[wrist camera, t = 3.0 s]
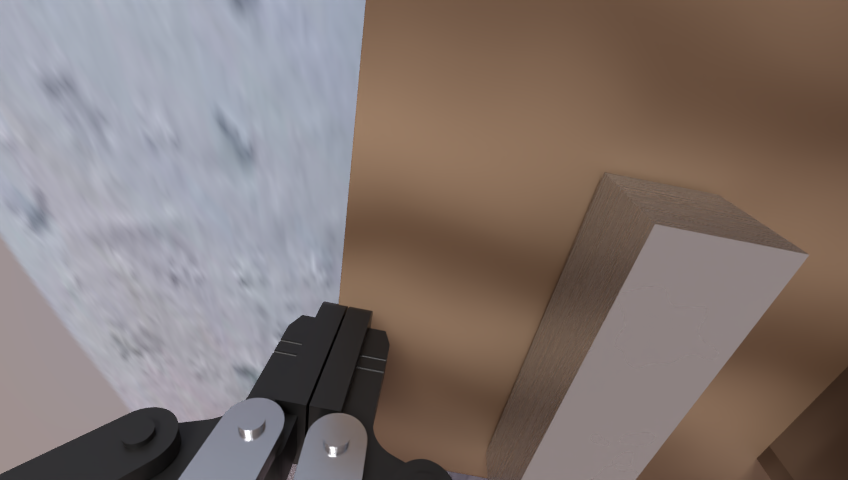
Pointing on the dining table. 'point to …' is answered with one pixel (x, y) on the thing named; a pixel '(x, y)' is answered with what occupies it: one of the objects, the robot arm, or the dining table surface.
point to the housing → (572, 196)
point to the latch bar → (636, 330)
